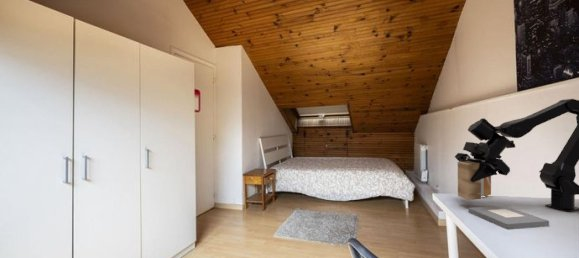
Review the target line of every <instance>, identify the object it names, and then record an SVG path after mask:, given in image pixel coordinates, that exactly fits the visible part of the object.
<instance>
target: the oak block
mask: <svg viewBox="0 0 579 258" xmlns="http://www.w3.org/2000/svg"><path fill="white" fill-rule="evenodd" d="M479 165H480V163H475V162H471V161H467V162H459V161H457V196H458V197H460V198H463V199H465V200H468V201H469V200H471V201H473V200H481V199H482V197H481V180H478V181H475V182H472V181H471V178H472V177H473V175H474V174H475V173H476V172H477V170H478V169H479Z"/></svg>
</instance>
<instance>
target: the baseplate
mask: <svg viewBox="0 0 579 258" xmlns="http://www.w3.org/2000/svg"><path fill="white" fill-rule="evenodd" d="M468 213H470V214H472V215H474V216H477V217H479V218H481V219H484V220H486V221H488V222H490V223H493V224H495V225H496V226H499V227H502V228H503V229H505V230H515V228H516V229H526V228H525V227H529V228H537V227H538V228H539V227H540V226H542V227H549V226H550V220H547V219H545V218H541V217H538V216H536V215H533V214H530V213H527V212H524V211H521V210H518V209H516V208H513V207H509V206H507V205H492V206H491V205H490V206H476V207H468Z"/></svg>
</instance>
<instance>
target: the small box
mask: <svg viewBox="0 0 579 258" xmlns="http://www.w3.org/2000/svg"><path fill="white" fill-rule="evenodd" d="M491 195H492V176H489V177H486V178H483V179H481V196H486V197H488V196H491ZM482 198H485V197H481V199H482Z"/></svg>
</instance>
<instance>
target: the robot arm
mask: <svg viewBox="0 0 579 258" xmlns="http://www.w3.org/2000/svg"><path fill="white" fill-rule="evenodd" d="M564 114H565V115H566V114H572V115H576V117H575V118H576V119H575V120H576V127H575V128H574V129H573V131H572V133H571V135H570V137H569V138H568V139H567V142H565V144H564V146H563V148H562V149H561V151H560V153H559V154H558V156H557V158H556V159H555V160H554V161H552V162H551V163H549V162H545V163H544V164H543V166H542V168H541V170H539V171H538V173H539V179H540V180H541V182H542V183H543V184H544V186H545V188H546V189H550V203H548V204H545V207H548V208H551V209H557V210H560V211H564V212H567V213H568V212H569V213H570V212H571V213H572V212H575V211H579V207H576V206H575V203H576V202H575V201H576V198H575V197H576V195H579V184H578V183H577V182H575V179H576V178H577V177H576V165H578V162H579V99H575V98H567V99H561V100H559V101H558V102H556V103H554V104H551V105H549V106H546V107H545V108H542V109H540V110H537V111H536V112H534V113H532V114H530V115H527V116H524V117H522V118H516V119H512V120H509V121H506V122H503V123H501V124H499V125H498V126H494V125H493V124H491V122H489V121H488V120H487V119H486V118H480V119H479V120H477V121H476V122H474V123H472V124H470V126H469V127H468V128H467V131H468V132H469V133H470V134H472V135H473V136H474V137H476V138H477V139H478V140H479V141H480V142H471V141H466V142H465V144H464V146H463V149H462V150H463V151H466V152H468V153H470V155H469V154H468V153H464V152H457V153H456V154H455V155H454V158H455V159H456V160H457V162H467V161H471V162H475V163H480V165H479V169H478V170H477V172H476V173H475V174H474V175H473V177H472V178H471V181H472V182H475V181H478V180H481V179H483V178H486V177H489V176H491V177H493V176H497V175H503V176H508V175H509V174H510V172H511V168H510V166H509V165H508V164H507V163H506V162H505V161H504V160H503V159H501V158H502V156H501V154H502V153H503V152H504V150H505V149H513V148H516V144H515V142H514V140H510V139H509V138H513V139H520V138H522V137H524V136H526V135H527V134H529V133H530V132H531V131H532V130H533V129H534V128H536V127H537V126H539V125H542V124H544V123H546V122H549V121H551V120H554V119H555V118H557V117H560V116H562V115H564ZM482 141H486V142H482Z"/></svg>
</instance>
